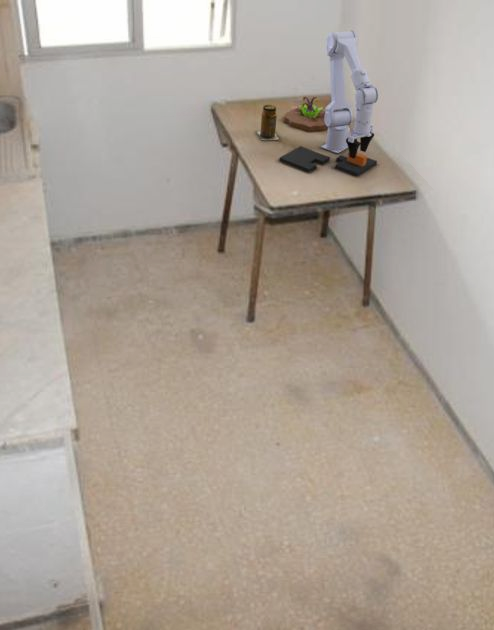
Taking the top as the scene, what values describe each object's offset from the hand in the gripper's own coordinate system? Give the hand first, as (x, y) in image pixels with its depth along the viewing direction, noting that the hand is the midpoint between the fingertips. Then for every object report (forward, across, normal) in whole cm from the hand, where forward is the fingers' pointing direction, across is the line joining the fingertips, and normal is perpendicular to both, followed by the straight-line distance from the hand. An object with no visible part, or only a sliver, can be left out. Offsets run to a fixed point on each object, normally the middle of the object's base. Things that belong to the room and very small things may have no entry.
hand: (357, 154), depth 273 cm
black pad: (+5, -10, +17) cm, 20 cm away
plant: (+5, +22, +37) cm, 43 cm away
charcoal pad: (+5, 0, +2) cm, 5 cm away
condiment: (+5, -2, +41) cm, 41 cm away
